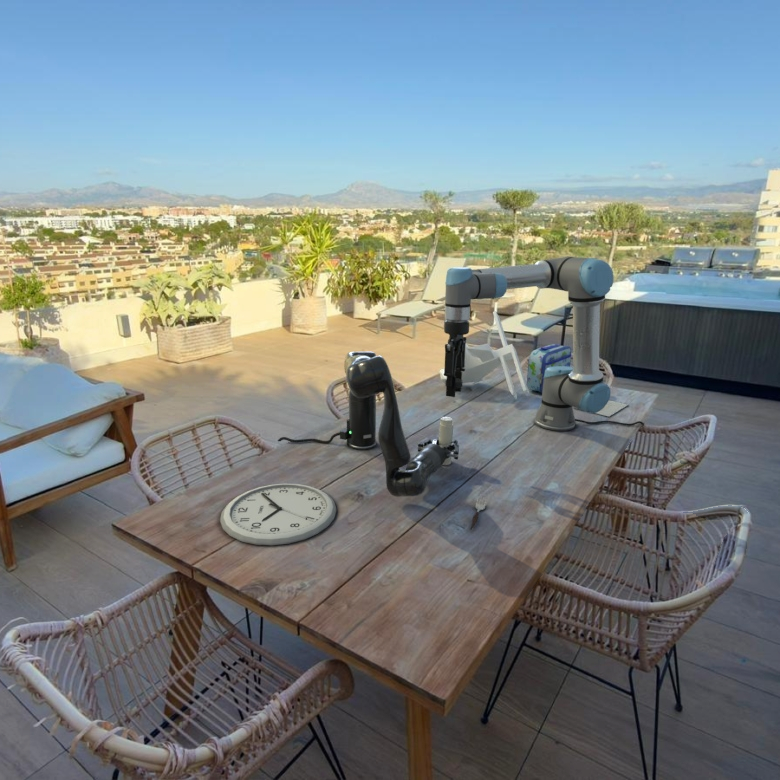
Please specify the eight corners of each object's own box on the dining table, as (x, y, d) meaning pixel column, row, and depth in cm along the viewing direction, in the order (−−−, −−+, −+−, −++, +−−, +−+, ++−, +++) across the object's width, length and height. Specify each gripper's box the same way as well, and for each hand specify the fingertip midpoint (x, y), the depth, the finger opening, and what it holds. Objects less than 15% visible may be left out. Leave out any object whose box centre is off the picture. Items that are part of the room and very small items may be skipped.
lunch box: (543, 396, 238) (548, 352, 231) (522, 391, 245) (526, 347, 239) (570, 385, 255) (575, 343, 249) (550, 381, 262) (555, 340, 256)
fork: (465, 530, 132) (466, 523, 131) (477, 500, 146) (478, 494, 146) (475, 532, 131) (476, 525, 130) (487, 502, 145) (487, 496, 145)
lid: (451, 389, 160) (452, 383, 160) (442, 384, 165) (442, 378, 164) (465, 387, 163) (465, 380, 162) (455, 382, 167) (456, 376, 166)
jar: (447, 458, 173) (449, 415, 168) (453, 464, 169) (455, 420, 164) (435, 460, 171) (437, 417, 167) (441, 465, 168) (443, 421, 163)
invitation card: (608, 416, 214) (573, 407, 224) (608, 416, 214) (573, 408, 224) (628, 404, 229) (594, 396, 238) (628, 405, 229) (594, 397, 238)
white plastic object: (461, 429, 252) (437, 405, 227) (444, 352, 274) (420, 323, 250) (535, 404, 240) (518, 377, 215) (510, 326, 262) (492, 293, 237)
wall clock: (335, 537, 125) (206, 541, 122) (335, 543, 125) (207, 547, 123) (337, 479, 154) (232, 481, 151) (337, 484, 154) (233, 486, 151)
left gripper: (452, 453, 152) (470, 433, 167) (407, 444, 158) (428, 426, 172) (450, 476, 154) (468, 455, 169) (406, 466, 160) (427, 447, 175)
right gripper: (454, 314, 167) (451, 384, 174) (434, 323, 151) (431, 400, 158) (477, 316, 164) (473, 387, 171) (459, 326, 148) (455, 403, 155)
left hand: (448, 440), depth 171 cm, fingers closed on jar, 4 cm apart
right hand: (453, 393), depth 164 cm, fingers closed on lid, 5 cm apart
